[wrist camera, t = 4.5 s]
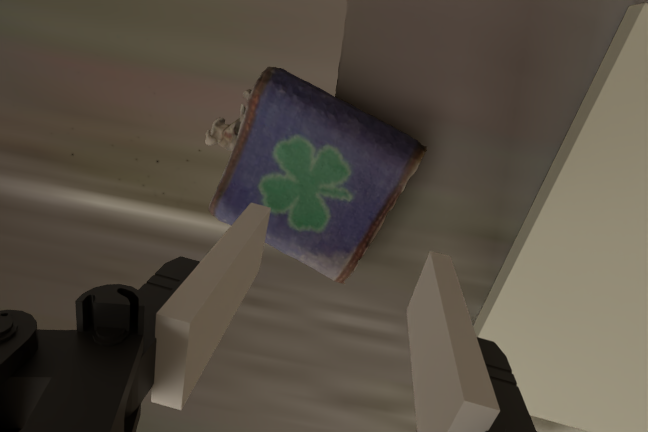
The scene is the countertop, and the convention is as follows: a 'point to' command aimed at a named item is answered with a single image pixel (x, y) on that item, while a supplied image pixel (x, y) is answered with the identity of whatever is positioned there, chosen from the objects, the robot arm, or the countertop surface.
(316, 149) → the flask
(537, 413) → the beige flat panel
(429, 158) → the countertop surface
